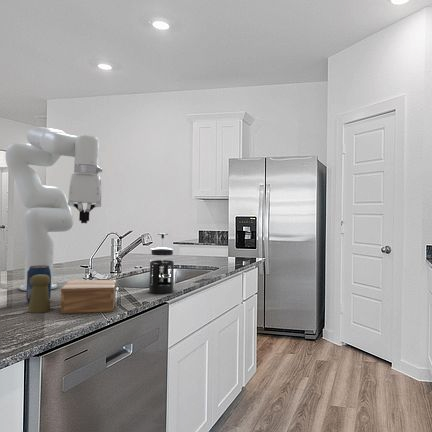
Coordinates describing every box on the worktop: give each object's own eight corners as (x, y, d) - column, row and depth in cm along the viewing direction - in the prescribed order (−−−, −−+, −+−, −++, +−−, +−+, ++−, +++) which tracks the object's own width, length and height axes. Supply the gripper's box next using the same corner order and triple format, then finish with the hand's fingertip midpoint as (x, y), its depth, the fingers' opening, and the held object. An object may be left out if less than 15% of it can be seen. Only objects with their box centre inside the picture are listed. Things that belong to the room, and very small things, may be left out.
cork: (40, 313, 128) (41, 276, 128) (23, 311, 129) (24, 275, 129) (55, 309, 134) (56, 274, 134) (38, 307, 135) (39, 272, 135)
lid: (113, 290, 132) (113, 287, 132) (60, 291, 128) (61, 288, 128) (116, 281, 148) (116, 279, 148) (69, 282, 143) (69, 280, 143)
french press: (155, 288, 174) (156, 232, 174) (177, 290, 173) (179, 233, 173) (142, 294, 162) (144, 233, 162) (166, 295, 161) (168, 234, 161)
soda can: (52, 300, 147) (53, 265, 147) (47, 304, 140) (48, 267, 140) (29, 300, 145) (30, 265, 145) (23, 304, 138) (24, 267, 138)
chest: (113, 311, 133) (113, 289, 133) (60, 313, 128) (61, 291, 128) (115, 301, 148) (116, 281, 148) (68, 303, 143) (69, 282, 143)
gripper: (109, 173, 156) (107, 223, 156) (64, 170, 151) (62, 222, 151) (108, 171, 148) (106, 224, 149) (60, 168, 144) (58, 222, 144)
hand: (84, 223), depth 150 cm, fingers closed
